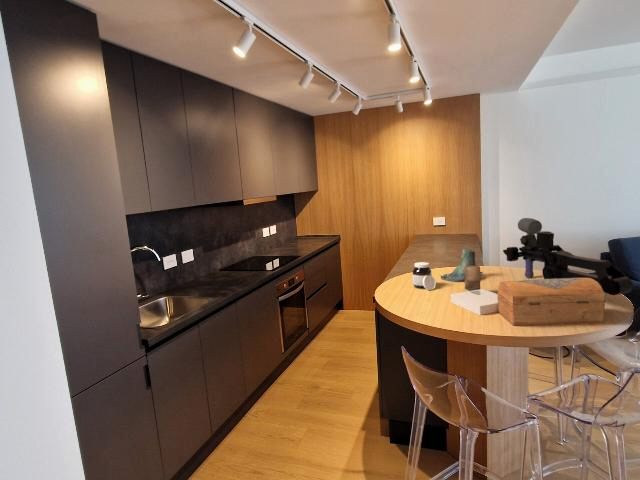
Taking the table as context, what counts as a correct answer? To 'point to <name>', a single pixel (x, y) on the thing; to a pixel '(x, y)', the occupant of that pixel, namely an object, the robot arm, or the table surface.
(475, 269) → the walnut peg
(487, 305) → the white board
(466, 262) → the tree stump
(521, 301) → the wooden box
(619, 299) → the table surface
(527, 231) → the rubber mallet
